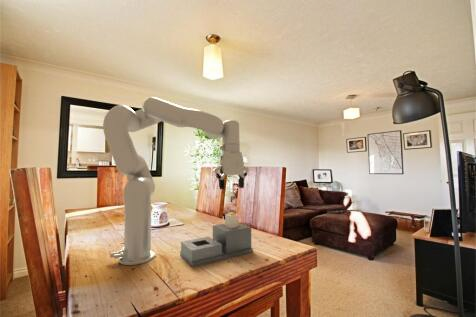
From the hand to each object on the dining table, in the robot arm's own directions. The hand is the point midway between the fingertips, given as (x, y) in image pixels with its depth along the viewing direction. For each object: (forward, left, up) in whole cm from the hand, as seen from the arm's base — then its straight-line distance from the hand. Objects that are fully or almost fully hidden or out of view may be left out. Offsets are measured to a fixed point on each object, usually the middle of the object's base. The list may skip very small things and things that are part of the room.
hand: (231, 188), depth 95 cm
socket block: (-7, 0, -26) cm, 27 cm away
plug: (0, 0, -20) cm, 20 cm away
